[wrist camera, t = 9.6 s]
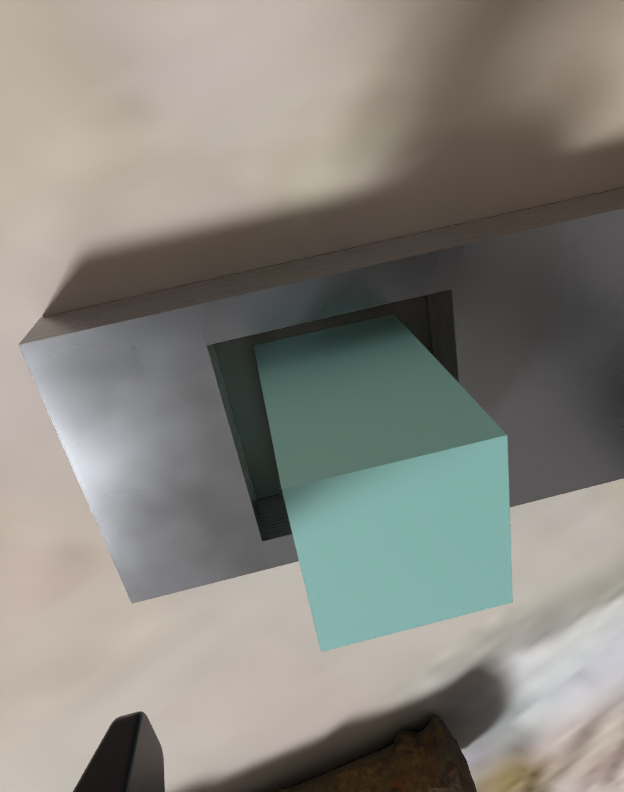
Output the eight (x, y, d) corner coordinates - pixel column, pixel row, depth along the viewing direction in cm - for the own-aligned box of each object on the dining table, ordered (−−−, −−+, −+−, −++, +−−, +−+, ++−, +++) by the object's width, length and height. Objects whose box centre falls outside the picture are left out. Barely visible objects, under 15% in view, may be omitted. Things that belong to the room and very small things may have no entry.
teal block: (393, 313, 16) (507, 435, 10) (408, 435, 18) (512, 601, 12) (253, 345, 16) (281, 489, 10) (282, 466, 18) (321, 652, 12)
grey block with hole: (772, 153, 16) (842, 158, 14) (732, 407, 20) (783, 437, 18) (40, 317, 15) (18, 345, 13) (139, 556, 19) (132, 603, 17)
